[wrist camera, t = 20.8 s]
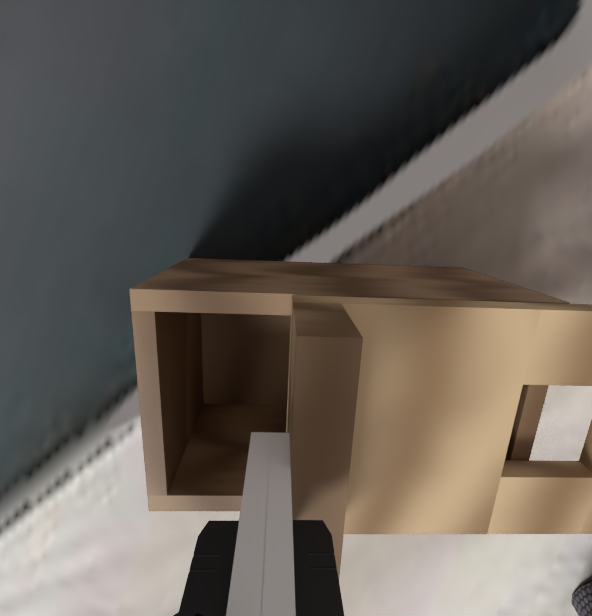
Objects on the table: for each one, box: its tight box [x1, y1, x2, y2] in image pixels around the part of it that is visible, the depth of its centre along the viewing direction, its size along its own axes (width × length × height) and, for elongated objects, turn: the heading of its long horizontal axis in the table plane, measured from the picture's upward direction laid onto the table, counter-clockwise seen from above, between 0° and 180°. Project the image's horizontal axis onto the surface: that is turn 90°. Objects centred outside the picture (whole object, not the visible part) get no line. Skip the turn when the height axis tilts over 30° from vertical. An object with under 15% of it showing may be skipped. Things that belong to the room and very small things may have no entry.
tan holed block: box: [286, 295, 592, 579], centre depth 15 cm, size 20×12×5 cm, turn 88°
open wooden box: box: [130, 258, 570, 511], centre depth 22 cm, size 20×12×10 cm, turn 88°
